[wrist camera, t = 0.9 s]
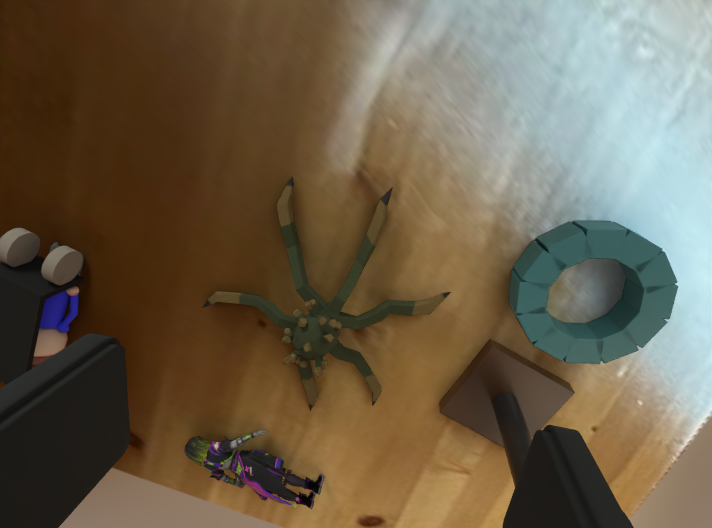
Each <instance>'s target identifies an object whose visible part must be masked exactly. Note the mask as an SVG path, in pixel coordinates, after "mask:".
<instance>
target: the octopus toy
mask: <svg viewBox="0 0 712 528" xmlns="http://www.w3.org/2000/svg"><path fill="white" fill-rule="evenodd" d="M293 187H294V183H293V178H292V177H291V179H290V180H289V182H288V184H287V185H286V187H285V189H284V191H283V193H282V195H281V197H280V199H279V201H278V203H277V205H276V206H277V211H278V216H279V221H280V226H281V230H282V233H283V237H284V240H285V243H286V247H287V251H288V256H289V262H290V267H291V271H292V276H293V280H294V284H295V288H296V291H297V292H298V293H299V295H300V296H301V297H302V298H303V300H304V301H305V302H306V303H305V307H306V308H307V309H308V311H309V313H310V314H309V315H306V316H304V315H303V313H302V311H301V310H299V309H296V310H295V311H294V312H293V315H294V316H295V317H292V316H288V315H285V314H284V313H283V312H282V311H281V310H280V309H279V308H278V307H277V306H276V305H275V304H273V303H271V302H269V301H268V300H266V299H264V298H262V297H261V296H256V295H250V294H245V293H235V292H222V291H217V292H216V293H214V294H213V295H212V296H211V297H210V298H209V299H208V300H207V301H206V303H205V304H204V306H203V307H202V308H204V307H206V306H209V305H212V304H214V303H216V302H225V303H238V304H245V305H251V306H255V307H256V308H258V309H259V310H261V311H262V312H263V313H265V314H266V315H267V316H268V317H269V318H270V319H271V320H272V321H273V322H274V323H275V324H276V325H277V326H278V327H280V328H283V329H284V330H285V335H284V337H283V339H282V342H283V343H284V344H287V343H290V341H292V344H293V346H294V348H295V350H294V351H293V352H292V353H291V354H290V355H289V356H287V357H285V359H284V361H283V364H285V365H289V363H290V362H291V361H292V362H295V363H296V364H298V368H299V372H300V375H301V379H302V382H303V385H304V387H305V390H306V393H307V397H308V403H309V408H310V411H311V409H312V407H313V406H314V404H315V402H316V399H317V395H318V390H317V387H316V384H315V381H314V378H313V375H312V370H311V366H310V361H309V360H315V368H314V373H315V376H317V377H318V376H321V375H322V370H323V369H326V368H327V366H328V362H327V360H323V357H324V356H325V355H326V354H327V353H328V352H329V353H330V354H332V355H333V356H334V357H335V358H337V359H340V360H343V361H347V362H350V363H354V364H355V365H356V367H357V368H358V370H359V371H360V373H361V374H362V376H363V377H364V379H365V380H366V382H367V384H368V385H369V387H370V388H371V390H372V406H373V405H374V404H375V402H376V401H377V399H378V397H379V395H380V393H381V386H380V384H379V383H378V381H377V379H376V377H375V376H374V374H373V372H372V371H371V369H370V367H369V366H368V364H367V363H366V361H365V360H364V358H363V356H362V355H361V353H360V352H358V351H355V350H352V349H350V348H347V347H344V346H343V345H342V344H341V343H340V342H339V341H338V339H337V338H338V336H339V335H338V333H339V332H340V331H339V330H340V329H341V327H345V328H351V329H357V330H360V329H362V328H365V327H367V326H370V325H372V324H374V323H377V322H379V321H381V320H382V319H384V318H385V317H387V316H388V315H389V314H390V313H392V314H400V315H409V316H415V315H427V314H431V313H432V312H433V311H434V310H435V309H436V308H437V306H438V305H439V304H440V303H441V302H442V301H443V300H444V299H445V298H446V297H447V296H448V295H449V294H450V293H451V292H447V293H442V294H440V295H438V296H436V297H433V298H431V299H427V300H422V301H416V302H415V301H394V300H388V301H386V302H384V303H382V304H381V305H379V306H377V307H376V308H374V309H372V310H370V311H368V312H366V313H363V314H361V315H359V316H353V315H350V314H347V313H343V312H340V311H341V309H342V307H343V305H344V303H345V302H346V300H347V298H348V297H349V295H350V293H351V292H352V290H353V289H354V287H355V285H356V284H357V281H358V279H359V277H360V275H361V273H362V271H363V269H364V267H365V265H366V263H367V261H368V259H369V257H370V256H371V254H372V252H373V250H374V248H375V246H376V244H377V241H378V239H379V236H380V234H381V231H382V229H383V226H384V224H385V222H386V214H387V205H388V202H389V198H390V195H391V191H392V188H393V187H392V188H391V189H390V190H389V191H388V192H387V193H386V194H385V195H384V196H383V197H382V198H381V199H380V201H379V204H378V206H377V209H376V211H375V214H374V216H373V219H372V222H371V224H370V227H369V229H368V232H367V234H366V237H365V239H364V241H363V244H362V246H361V248H360V251H359V253H358V255H357V258H356V260H355V262H354V264H353V267H352V269H351V271H350V273H349V275H348V277H347V280H346V282H345V283H344V285H343V286H342V288H341V289H340V290H339V292H338V293H337V295H336V296H335V297H334V298H333V299H332V300H331V301H330V302H329V303H328V304H327V303H326V302H325V301H324V300H323V299H322V298H321V297H320V296H319V295H318V294H317V292H316V291H315V290H314V289H313V288H312V287H311V286H310V285H309V284H308V279H307V275H306V271H305V266H304V262H303V257H302V252H301V247H300V242H299V239H298V235H297V231H296V227H295V223H294V219H293V211H292V204H291V198H292V193H293ZM339 334H340V333H339Z"/></svg>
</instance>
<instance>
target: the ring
mask: <svg viewBox="0 0 712 528" xmlns="http://www.w3.org/2000/svg"><path fill="white" fill-rule="evenodd" d="M537 240H538V242H539V243H538V242H536V241H534V240H533V241H532V242H531V244H530V245H529V246H528V248H527V249H526V250H525V252H524V253H523V254H522V256H521V257H520V258H519V260H518V261H517V262H516V263H515V265H514V266H513V267H514V268H515V270H512V272H511V281H510V291H509V301H510V302H509V303H510V305H511V307H512V309H513V311H514V313H515V315H516V316H517V318H518V320H519V322H520V324H521V326H522V328H523V330H524V331H525V333H526V335H527V337H528V339H529V341H530V342H531V343H533V345H534V346H535V347H537V348H539V349H541V350H542V351H544V352H546V353H548V354H549V355H551V356H553V357H555V358H556V359H558V360H560V361H562V360H564V361H565V362H569V363H589V364H600V362H601V360H602V361H603V363H607V362H609V361H612V360H615V359H617V358H620V357H623V356H625V355H628V354H630V353H633V352H636V351H638V347H637V345H638V346H639V347H641V348H643V347H644V346H645V345H646V344H647V343H648V342H649V341H650V340H651V339H652V338H653V337H654V336H655V335H656V334H657V333H658V331H659V330H660V329H661V328H662V327H663V326H664V325H665V324H666V323H667V321H666V320H664V319H670V316H671V312H672V308H673V304H674V300H675V296H676V292H677V288H678V286H677V285H675V283H677V280H676V277H675V275H674V273H673V270H672V268H671V266H670V263H669V261H668V258H667V256H666V254H665V252H663V251H661V250H662V248H660V247H658V246H657V245H655V244H653V243H652V242H650V241H648V240H646V239H645V238H643V237H641V236H640V235H638V234H636V233H635V232H633V231H631V230H629V229H627V228H625V227H623V226H621V225H619V224H617V223H615V222H611V221H573V224H572V223H571V222H567V223H565V224H563V225H561V226H559V227H557V228H555V229H553V230H551V231H549V232H547V233H545V234H543V235H541V236H538V237H537ZM588 258H600V259H616V260H617V261H619V262H620V265H621V267H622V269H623V271H624V273H625V276H626V281H625V286H624V291H623V296H622V299H621V300H620V301H619V302H618V303H617V304H616V305H615V306H614V308H613V309H612V310H611V311H610V312H609V313H608V314H607V315H605V316H603V317H600V318H598V319H595V320H593V321H590V322H588V323H586V324H583V323H563V322H561V321H559V320H557V319H556V318H554V317H552V316H550V315H549V314H548V312H547V310H546V307H547V300H548V293H549V288H550V286H551V285H552V284H553V283H554V281H555V280H556V279H557V278H558V277H559V275H560V274H561V273H562V272H563V270H564V269H566V268H568V267H570V266H573V265H575V264H577V263H579V262H581V261H584V260H586V259H588Z"/></svg>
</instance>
